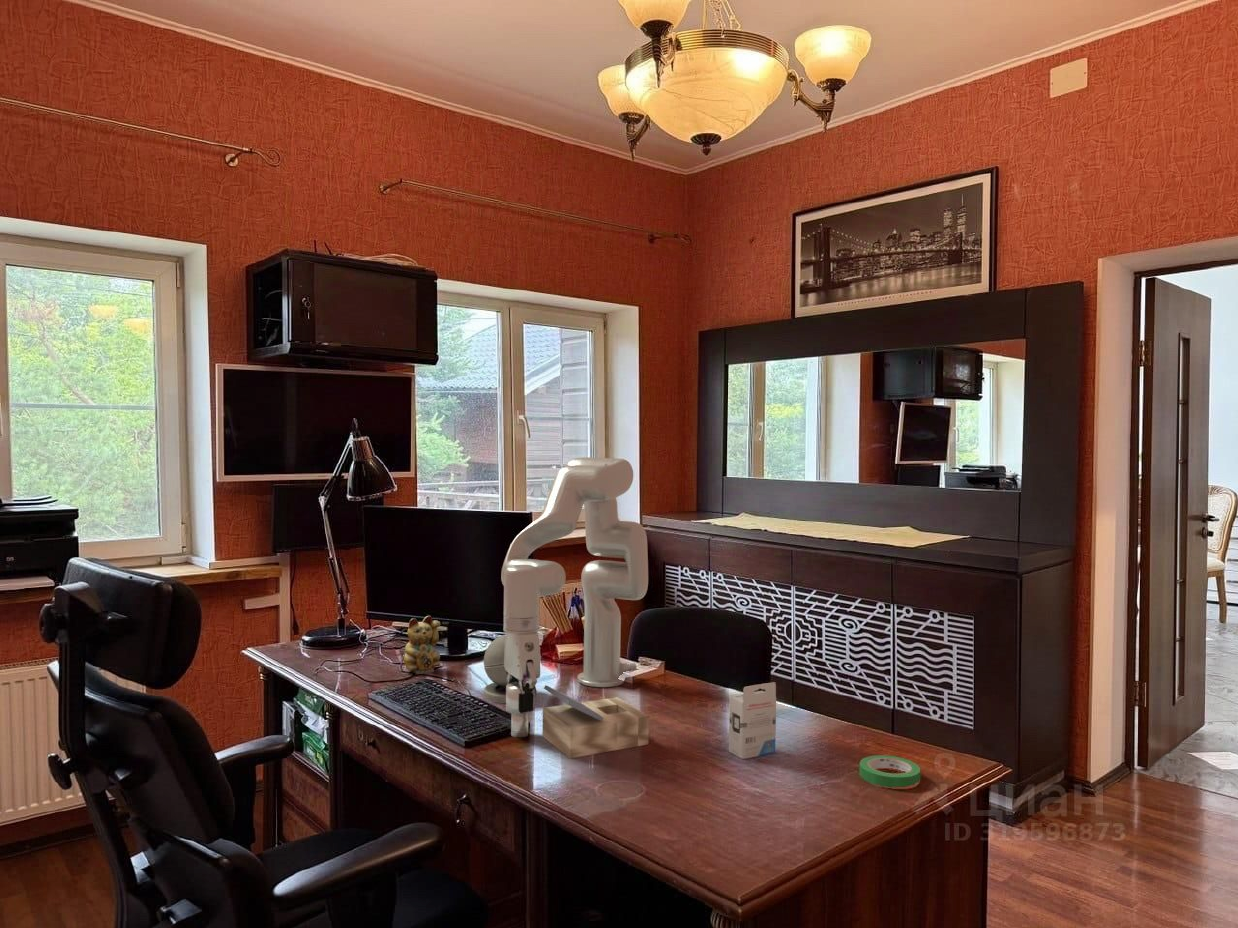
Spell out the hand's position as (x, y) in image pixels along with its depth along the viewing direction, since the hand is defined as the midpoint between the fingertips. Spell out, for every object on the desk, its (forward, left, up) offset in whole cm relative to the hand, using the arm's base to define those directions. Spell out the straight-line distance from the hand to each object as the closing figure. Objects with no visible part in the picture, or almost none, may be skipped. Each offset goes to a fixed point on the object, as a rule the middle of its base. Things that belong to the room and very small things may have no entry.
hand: (520, 705), depth 183 cm
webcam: (-8, -27, -6) cm, 29 cm away
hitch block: (-13, +10, -6) cm, 17 cm away
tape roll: (-55, +52, -7) cm, 76 cm away
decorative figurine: (+6, -57, -6) cm, 58 cm away
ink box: (-39, +30, -6) cm, 50 cm away
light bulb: (0, 0, -6) cm, 6 cm away
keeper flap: (-8, +10, +2) cm, 13 cm away
